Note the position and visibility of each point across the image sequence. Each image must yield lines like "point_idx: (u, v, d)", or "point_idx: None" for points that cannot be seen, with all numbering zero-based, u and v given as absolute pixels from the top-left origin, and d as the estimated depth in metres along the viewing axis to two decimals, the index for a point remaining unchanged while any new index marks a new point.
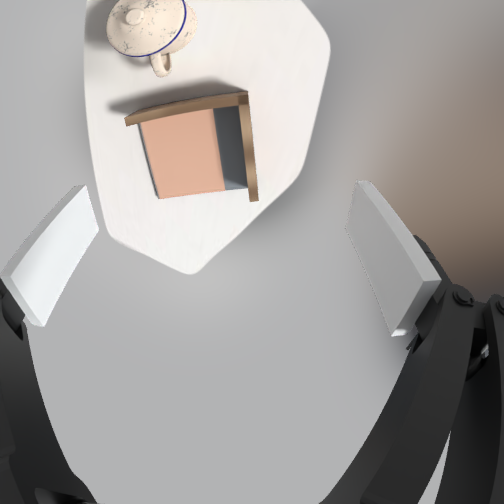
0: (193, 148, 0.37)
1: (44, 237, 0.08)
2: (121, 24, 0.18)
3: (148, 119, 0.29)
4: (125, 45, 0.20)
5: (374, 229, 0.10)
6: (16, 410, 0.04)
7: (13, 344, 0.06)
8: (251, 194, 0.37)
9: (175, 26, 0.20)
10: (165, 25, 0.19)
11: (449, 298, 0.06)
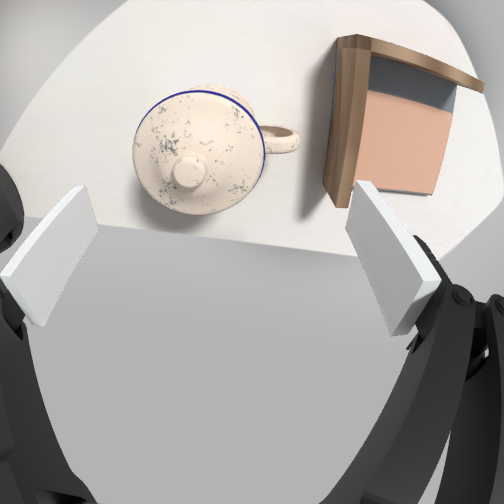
0: (397, 129, 0.23)
1: (44, 237, 0.08)
2: (196, 193, 0.17)
3: (352, 176, 0.22)
4: (236, 189, 0.18)
5: (374, 229, 0.10)
6: (16, 410, 0.04)
7: (13, 344, 0.06)
8: (477, 86, 0.15)
9: (225, 108, 0.15)
10: (218, 122, 0.15)
11: (449, 298, 0.06)
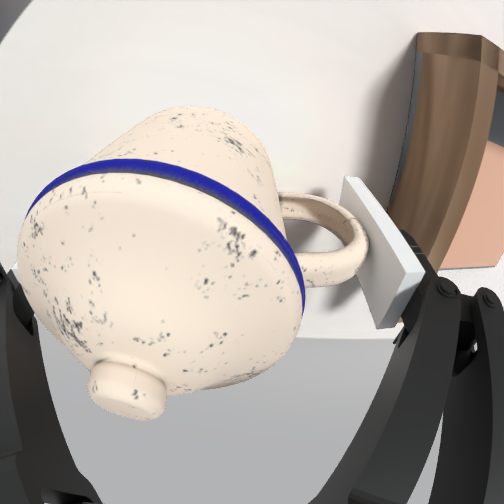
0: (480, 188, 0.13)
1: None
2: None
3: None
4: (238, 377, 0.08)
5: None
6: (24, 408, 0.04)
7: (23, 340, 0.06)
8: None
9: (199, 225, 0.05)
10: (182, 271, 0.05)
11: (433, 291, 0.07)
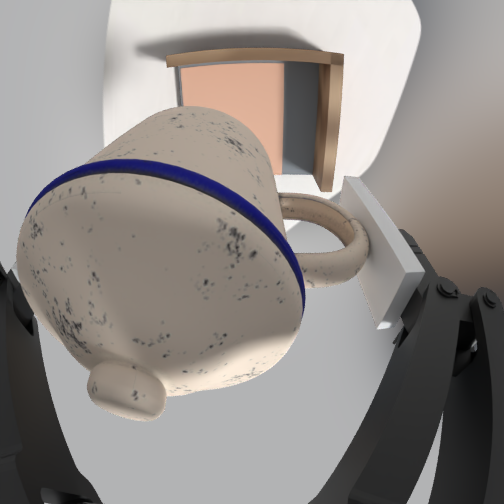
0: (250, 113, 0.27)
1: None
2: None
3: (202, 61, 0.19)
4: (238, 378, 0.08)
5: None
6: (24, 408, 0.04)
7: (23, 340, 0.06)
8: (325, 183, 0.27)
9: (199, 226, 0.05)
10: (182, 272, 0.05)
11: (433, 291, 0.07)
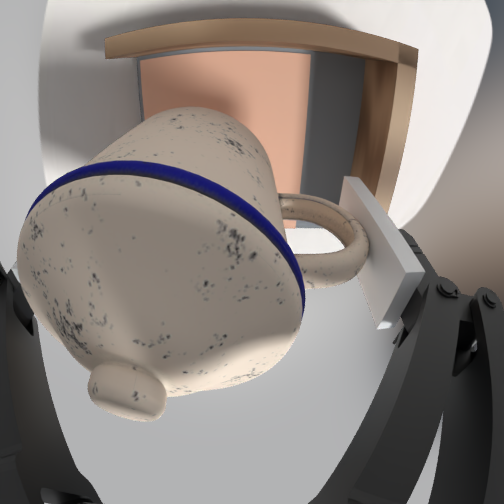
0: None
1: None
2: None
3: (166, 43, 0.09)
4: (238, 378, 0.08)
5: (360, 223, 0.10)
6: (23, 408, 0.04)
7: (23, 340, 0.06)
8: None
9: (200, 228, 0.05)
10: (182, 273, 0.05)
11: (433, 291, 0.07)
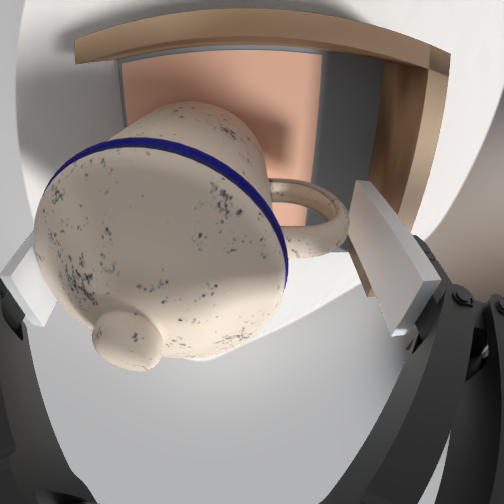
0: None
1: None
2: None
3: (145, 41, 0.07)
4: (229, 339, 0.09)
5: (373, 229, 0.10)
6: (16, 410, 0.04)
7: (13, 344, 0.06)
8: None
9: (196, 188, 0.06)
10: (181, 228, 0.06)
11: (449, 298, 0.06)
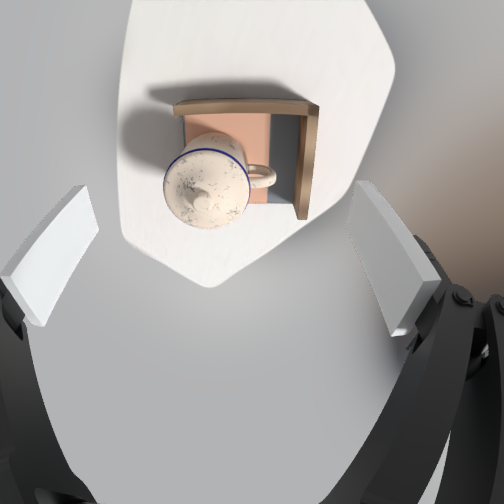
0: None
1: (44, 237, 0.08)
2: (206, 215, 0.27)
3: (202, 112, 0.26)
4: (231, 213, 0.28)
5: (374, 229, 0.10)
6: (16, 410, 0.04)
7: (13, 344, 0.06)
8: (301, 212, 0.34)
9: (224, 161, 0.25)
10: (220, 171, 0.25)
11: (449, 298, 0.06)
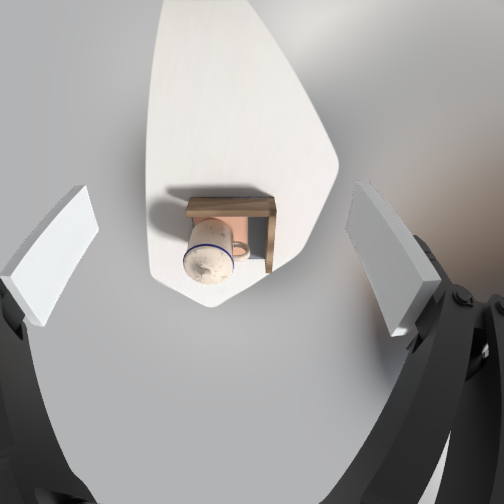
0: None
1: (44, 237, 0.08)
2: (208, 279, 0.49)
3: (204, 216, 0.47)
4: (223, 277, 0.49)
5: (374, 229, 0.10)
6: (16, 410, 0.04)
7: (13, 344, 0.06)
8: (268, 269, 0.55)
9: (218, 252, 0.46)
10: (216, 257, 0.47)
11: (449, 298, 0.06)
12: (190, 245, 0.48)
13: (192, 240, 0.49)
